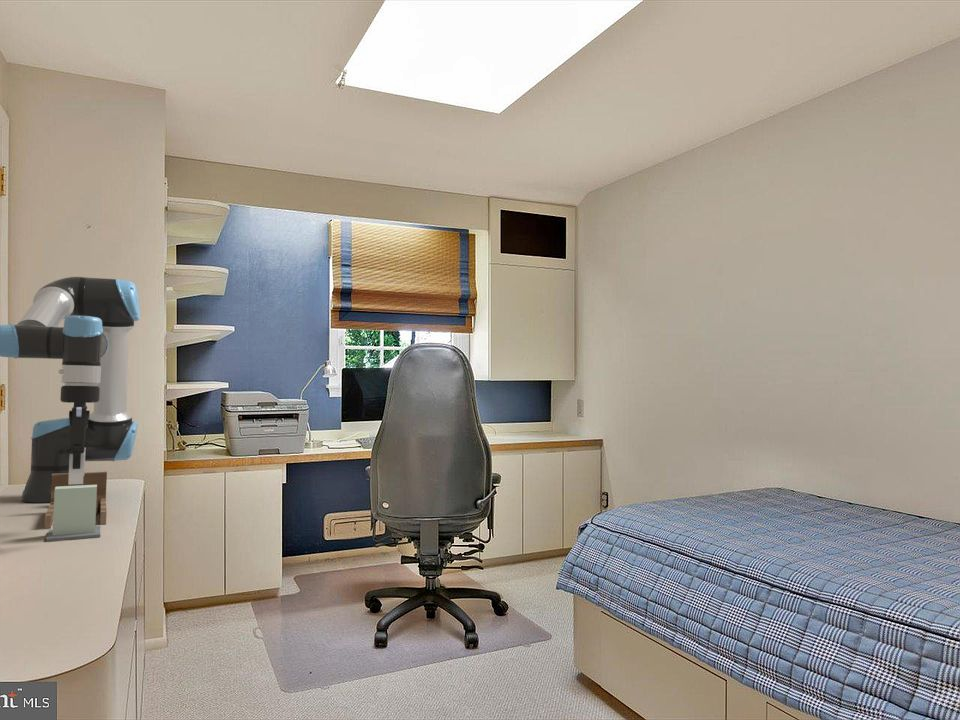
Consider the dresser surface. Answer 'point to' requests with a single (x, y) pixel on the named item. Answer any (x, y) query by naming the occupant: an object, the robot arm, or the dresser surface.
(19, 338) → the robot arm
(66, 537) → the rubber pad
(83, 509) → the block
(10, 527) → the dresser surface
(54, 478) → the rack
